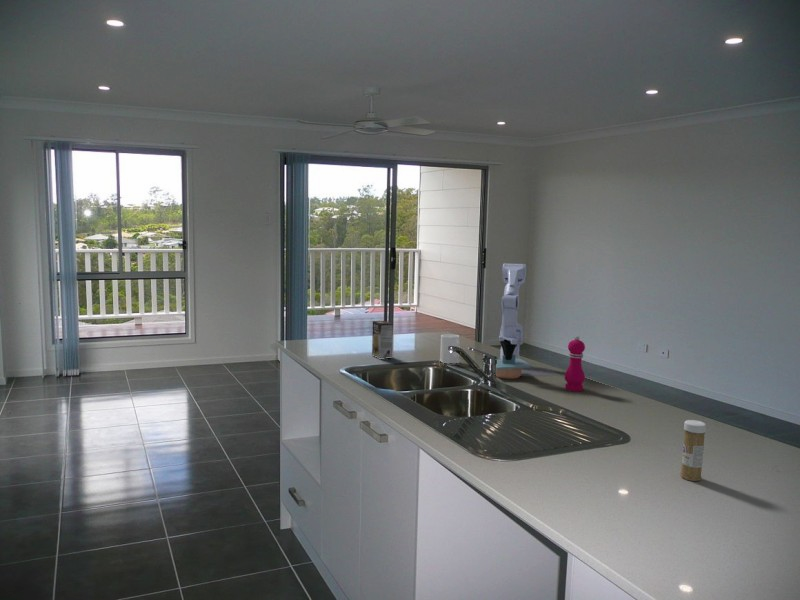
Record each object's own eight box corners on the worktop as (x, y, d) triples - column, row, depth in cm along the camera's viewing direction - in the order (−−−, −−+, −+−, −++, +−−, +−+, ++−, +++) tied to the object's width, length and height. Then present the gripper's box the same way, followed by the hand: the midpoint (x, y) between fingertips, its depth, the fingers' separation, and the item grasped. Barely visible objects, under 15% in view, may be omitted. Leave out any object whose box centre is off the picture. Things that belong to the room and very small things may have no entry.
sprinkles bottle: (676, 474, 147) (680, 419, 146) (694, 474, 147) (698, 419, 146) (687, 482, 142) (691, 425, 141) (705, 481, 143) (710, 425, 141)
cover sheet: (486, 362, 251) (486, 352, 251) (519, 360, 253) (519, 351, 253) (496, 369, 238) (496, 359, 237) (531, 367, 239) (531, 357, 239)
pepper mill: (582, 387, 231) (585, 334, 229) (586, 392, 224) (589, 337, 222) (562, 386, 232) (565, 333, 229) (565, 391, 224) (568, 337, 222)
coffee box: (371, 356, 281) (372, 320, 279) (384, 355, 283) (385, 320, 282) (379, 359, 273) (380, 323, 271) (392, 358, 275) (393, 323, 274)
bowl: (490, 373, 250) (491, 362, 250) (515, 373, 252) (515, 362, 251) (498, 379, 240) (498, 368, 239) (523, 379, 241) (524, 368, 241)
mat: (509, 368, 261) (509, 367, 261) (546, 368, 264) (546, 367, 263) (522, 377, 246) (522, 376, 246) (560, 376, 248) (560, 375, 248)
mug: (466, 365, 266) (467, 337, 264) (449, 366, 262) (450, 338, 261) (452, 360, 276) (453, 333, 275) (436, 361, 273) (436, 334, 271)
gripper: (494, 322, 250) (492, 355, 252) (504, 328, 236) (503, 363, 237) (511, 322, 251) (509, 355, 253) (522, 328, 237) (521, 363, 238)
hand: (507, 359), depth 245 cm, fingers closed on cover sheet
